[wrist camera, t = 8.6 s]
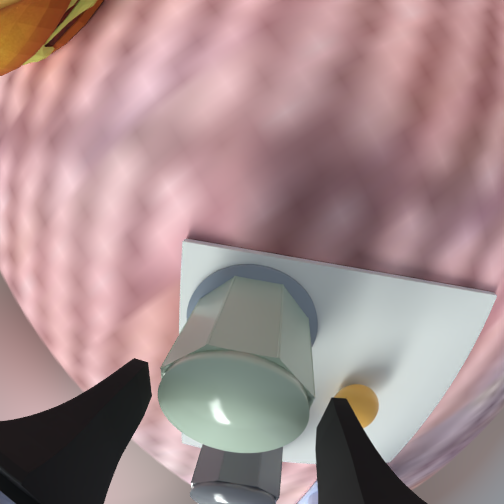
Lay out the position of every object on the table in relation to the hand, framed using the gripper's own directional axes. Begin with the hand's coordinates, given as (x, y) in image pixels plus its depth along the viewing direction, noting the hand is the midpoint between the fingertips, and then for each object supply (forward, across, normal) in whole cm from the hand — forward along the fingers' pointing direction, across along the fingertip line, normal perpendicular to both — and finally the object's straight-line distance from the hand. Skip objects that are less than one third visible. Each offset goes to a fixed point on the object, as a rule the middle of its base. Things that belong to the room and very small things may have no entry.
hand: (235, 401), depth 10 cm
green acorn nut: (+5, 0, 0) cm, 5 cm away
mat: (+6, -6, +5) cm, 10 cm away
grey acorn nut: (+6, -1, +11) cm, 12 cm away
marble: (+4, -7, +4) cm, 9 cm away
